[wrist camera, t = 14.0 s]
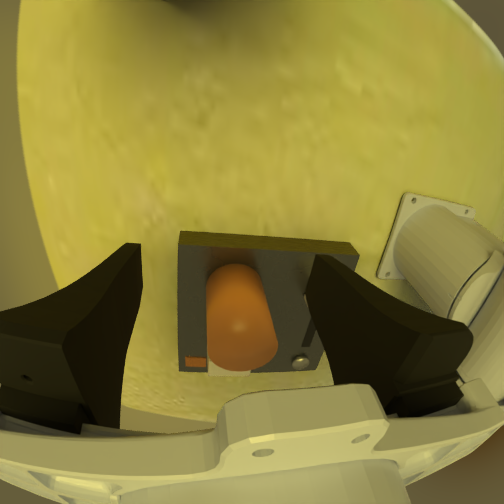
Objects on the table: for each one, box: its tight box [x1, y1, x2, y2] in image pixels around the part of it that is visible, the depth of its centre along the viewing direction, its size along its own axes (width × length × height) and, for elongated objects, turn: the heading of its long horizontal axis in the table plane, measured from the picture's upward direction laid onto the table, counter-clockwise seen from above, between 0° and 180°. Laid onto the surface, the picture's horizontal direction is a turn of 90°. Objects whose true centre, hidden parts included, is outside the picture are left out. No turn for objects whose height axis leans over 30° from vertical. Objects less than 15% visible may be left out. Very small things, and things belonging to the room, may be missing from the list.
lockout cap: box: [206, 264, 278, 372], centre depth 20 cm, size 4×4×6 cm
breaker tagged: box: [207, 351, 251, 376], centre depth 23 cm, size 3×2×3 cm, turn 82°
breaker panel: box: [178, 231, 360, 373], centre depth 25 cm, size 13×13×2 cm
